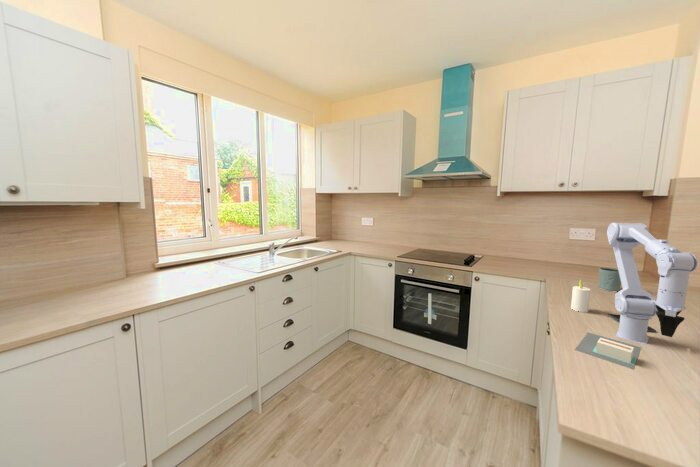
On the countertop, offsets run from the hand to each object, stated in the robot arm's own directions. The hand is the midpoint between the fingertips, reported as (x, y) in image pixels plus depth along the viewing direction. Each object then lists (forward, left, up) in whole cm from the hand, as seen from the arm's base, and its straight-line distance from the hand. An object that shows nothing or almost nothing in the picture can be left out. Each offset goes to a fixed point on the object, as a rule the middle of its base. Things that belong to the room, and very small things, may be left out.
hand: (666, 331), depth 86 cm
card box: (+10, -10, -9) cm, 17 cm away
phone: (-30, -10, -10) cm, 33 cm away
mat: (+6, -12, -9) cm, 16 cm away
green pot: (-85, -24, -10) cm, 89 cm away
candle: (-32, -27, -10) cm, 43 cm away
